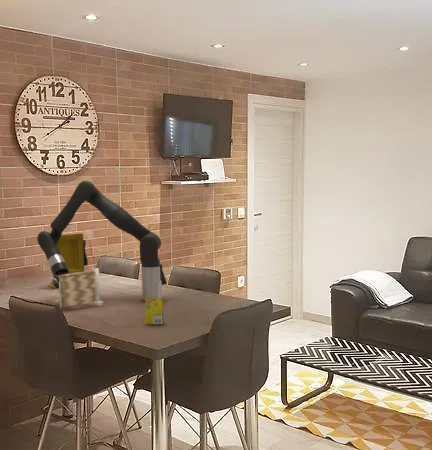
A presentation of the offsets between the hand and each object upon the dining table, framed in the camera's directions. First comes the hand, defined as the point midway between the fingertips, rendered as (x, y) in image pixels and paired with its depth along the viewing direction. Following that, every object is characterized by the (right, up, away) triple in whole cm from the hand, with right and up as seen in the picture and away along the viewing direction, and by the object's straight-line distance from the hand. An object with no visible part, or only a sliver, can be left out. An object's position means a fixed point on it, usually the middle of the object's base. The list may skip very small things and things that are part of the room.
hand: (70, 295), depth 281 cm
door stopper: (+36, -1, +59) cm, 69 cm away
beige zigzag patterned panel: (+3, -5, +2) cm, 6 cm away
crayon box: (+43, -9, -26) cm, 51 cm away
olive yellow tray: (-16, -2, +58) cm, 60 cm away
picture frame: (+1, -6, +12) cm, 13 cm away
